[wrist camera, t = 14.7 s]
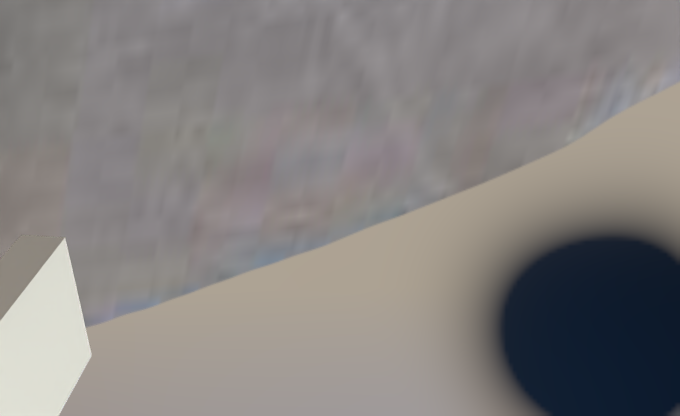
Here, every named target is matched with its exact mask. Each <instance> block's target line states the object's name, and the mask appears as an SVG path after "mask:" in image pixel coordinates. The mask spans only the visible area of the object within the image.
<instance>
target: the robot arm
mask: <svg viewBox="0 0 680 416" xmlns="http://www.w3.org/2000/svg"><path fill="white" fill-rule="evenodd" d="M90 358H91V351H90V347H89V342H88V337H87V333H86V328H85V324H84V319H83V315H82V310H81V306H80V302H79V297H78V293H77V288H76V284H75V279H74V275H73V270H72V266H71V261H70V257H69V253H68V248H67V244H66V239H65V237H49V236H31V235H21V236H20V237H19V239H18V240H17V241H16V242H15V243H14V244H13V245H12V246H11V248H10V249H9V250H8V251H7V252H6V253H5V254H4V255H3V257H2V258H1V259H0V416H59V414H60V412H61V410H62V409H63V407H64V405H65V403H66V401H67V399H68V398H69V396H70V394H71V392H72V390H73V389H74V387H75V385H76V383H77V381H78V379H79V378H80V376H81V374H82V372H83V370H84V368H85V367H86V365H87V363H88V361H89V359H90Z"/></svg>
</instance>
